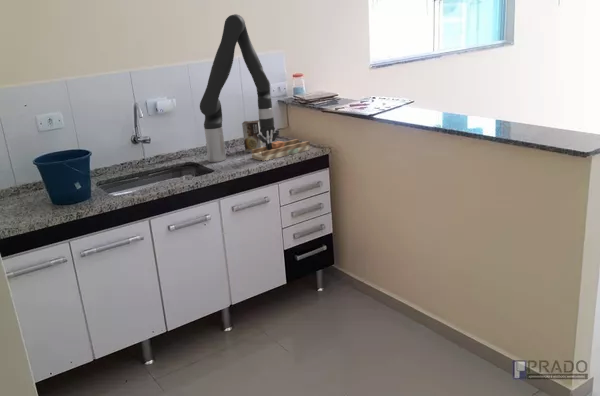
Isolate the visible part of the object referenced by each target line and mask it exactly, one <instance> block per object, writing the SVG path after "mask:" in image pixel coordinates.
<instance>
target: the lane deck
mask: <svg viewBox="0 0 600 396" xmlns="http://www.w3.org/2000/svg"><path fill="white" fill-rule="evenodd" d="M283 142H284V147H281V148H276V149H272V150H267V149H266V145H265V146H263V147H260V148H256V149H252V150H251V151H252V152H251V157H252V159H255V160H258V161H261V160H262V162H266V161H269V159H270V160H274V159H278V158H281V157H286V156H290V155H293V153H294V154H299V153H303V152H305V151H306V152H307V151H310V150H311V142H310V140H306V141H302V142H300V139H299V138H296V139H290V140H288V141H283ZM273 158H274V159H273ZM265 160H266V161H265Z"/></svg>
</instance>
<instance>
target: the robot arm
mask: <svg viewBox="0 0 600 396" xmlns="http://www.w3.org/2000/svg"><path fill="white" fill-rule="evenodd" d="M223 24H224V25H223V31H222V35H221V40H220V43H219V45H218V48H217V50H216V53H215V56H214V59H213V61H212V66H211V69H210V72H209V77H208V81H207V85H206V88H205V91H204V92H203V95H202V97H201V101H200V102H199V109H200V112H201V114H203V115H204V123H203V128H204V135H205V136H204V137H205V145H206V146H205V147H206V154H207V160H208V162H209V163H210V162H211V163H214V162H215V163H217V162H223V161H225V160H227V153H226V147H225V138H224V132H223V130H224V129H223V112H222V111H223V109H222V104H221V101H220V95H221V91H222V90H223V87H224V86H225V84H226V82H227V81H228V78H229V76H230V74H231V70H232V68H233V64H234V57H235V52H236V51H235V49H236V46H237V44H238V47H239V49H240V52H241V55H242V58H243V61H244V63H245V65H246V68H247V70H248V72H249V74H250V75H251V76H250V77H251V78H252V80H253V83H254V86H255V88H256V94H257V109H258V112H257V113H258V120H259V124H260V132H259V134H257V135H256V136H257V137H258V138H259V139H260V140H261V141H262V144H263V143H264V144H265V146H266V149H267V150H272V142H276V139H277V137H278V135H279V133H280V131H279V130H277V129H276V127H275V120H274V111H273V103H272V98H271V88H270V87H271V83H270V80H269V79H268V76H267V75H266V73H265V70H264V67H263V64H262V63H261V60H260V58H259V56H258V54H257V52H256V50H255V48H254V45H253V43H252V41H251V39H250V36H249V33H248V29H247V26H246V21H245V18H244V17H243V16H241V15H240V14H237V13H235V14H231V15H228V17H226V18H225V21H224V23H223Z"/></svg>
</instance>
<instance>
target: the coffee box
mask: <svg viewBox="0 0 600 396" xmlns="http://www.w3.org/2000/svg"><path fill="white" fill-rule="evenodd" d="M241 125H242V135H243V140H244V141H243V142H244V143H243V144H244V150H245V153H249V152H251V153H252V151H251V150H252V149H256V148H260V147H264V146H263V142H262V141H261V140H260V139H259V138H258V137H257V136H256V135H257V134H259V132H260V124H259V119H258V120H256V119H255V120H244V121H243V122H242V123H241Z"/></svg>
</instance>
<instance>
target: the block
mask: <svg viewBox="0 0 600 396" xmlns="http://www.w3.org/2000/svg"><path fill="white" fill-rule="evenodd" d="M284 142H285V141H282V140H281V141H280V140H277V141H276V140H275V141H273V142H272V149H276V148H281V147H284Z"/></svg>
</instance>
